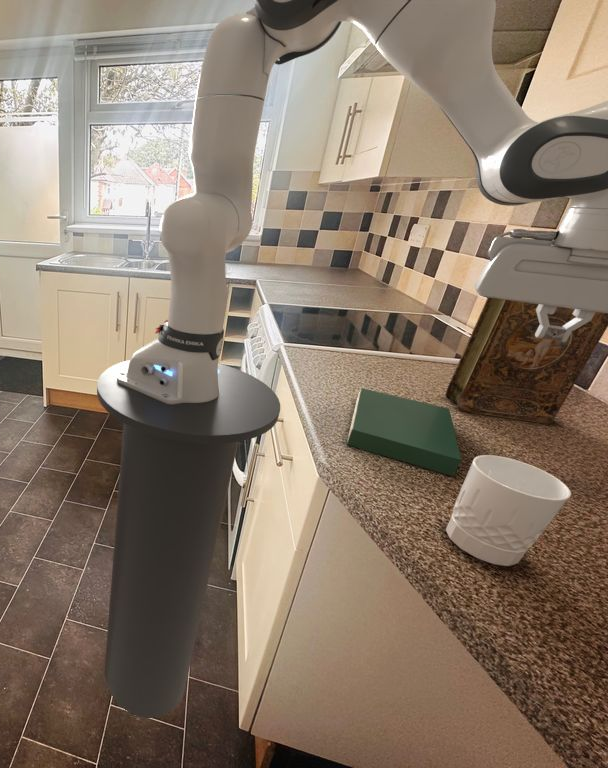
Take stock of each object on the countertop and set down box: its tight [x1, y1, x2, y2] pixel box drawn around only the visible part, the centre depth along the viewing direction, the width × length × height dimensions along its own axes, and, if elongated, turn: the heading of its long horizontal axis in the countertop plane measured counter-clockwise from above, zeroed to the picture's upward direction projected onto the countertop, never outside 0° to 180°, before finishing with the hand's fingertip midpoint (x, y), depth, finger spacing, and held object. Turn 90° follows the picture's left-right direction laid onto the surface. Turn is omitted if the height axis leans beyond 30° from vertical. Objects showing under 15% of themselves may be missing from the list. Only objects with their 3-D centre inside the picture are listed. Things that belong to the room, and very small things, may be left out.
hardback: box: [346, 387, 462, 477], centre depth 72 cm, size 14×20×3 cm
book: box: [445, 297, 608, 425], centre depth 77 cm, size 16×6×25 cm, turn 73°
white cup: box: [445, 454, 572, 567], centre depth 47 cm, size 8×8×10 cm
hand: (549, 339), depth 58 cm, fingers closed
